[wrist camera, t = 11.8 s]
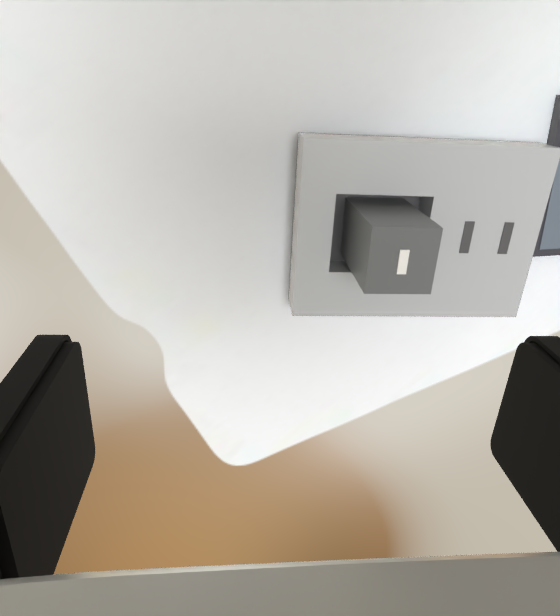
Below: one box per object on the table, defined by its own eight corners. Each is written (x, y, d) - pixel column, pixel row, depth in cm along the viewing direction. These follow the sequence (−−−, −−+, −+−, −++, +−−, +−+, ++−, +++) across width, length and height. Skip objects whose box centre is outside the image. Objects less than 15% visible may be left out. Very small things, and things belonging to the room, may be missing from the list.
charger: (345, 196, 37) (372, 227, 30) (403, 198, 38) (444, 228, 30) (340, 252, 39) (364, 294, 32) (395, 253, 39) (431, 294, 32)
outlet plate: (298, 132, 35) (304, 138, 33) (538, 142, 37) (563, 148, 34) (288, 299, 41) (292, 316, 38) (498, 301, 43) (516, 317, 40)
